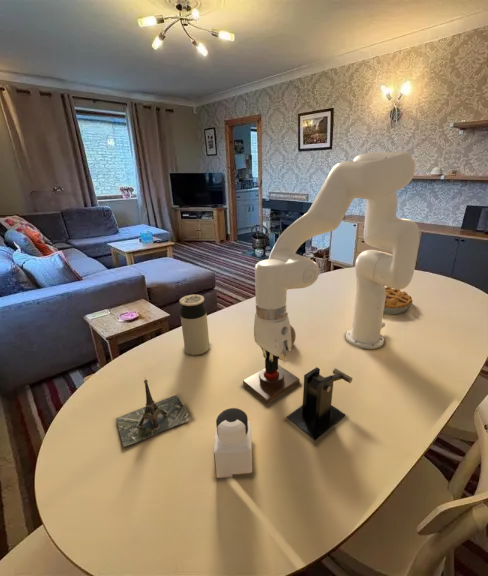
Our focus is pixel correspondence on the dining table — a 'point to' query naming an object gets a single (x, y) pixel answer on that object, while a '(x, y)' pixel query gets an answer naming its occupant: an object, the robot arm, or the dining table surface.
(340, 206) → the robot arm
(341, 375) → the switch lever
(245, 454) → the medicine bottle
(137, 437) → the eiffel tower figurine
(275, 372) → the button
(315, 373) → the switch bracket
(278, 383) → the housing
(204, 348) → the travel mug
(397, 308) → the pie
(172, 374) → the dining table surface
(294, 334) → the vase
